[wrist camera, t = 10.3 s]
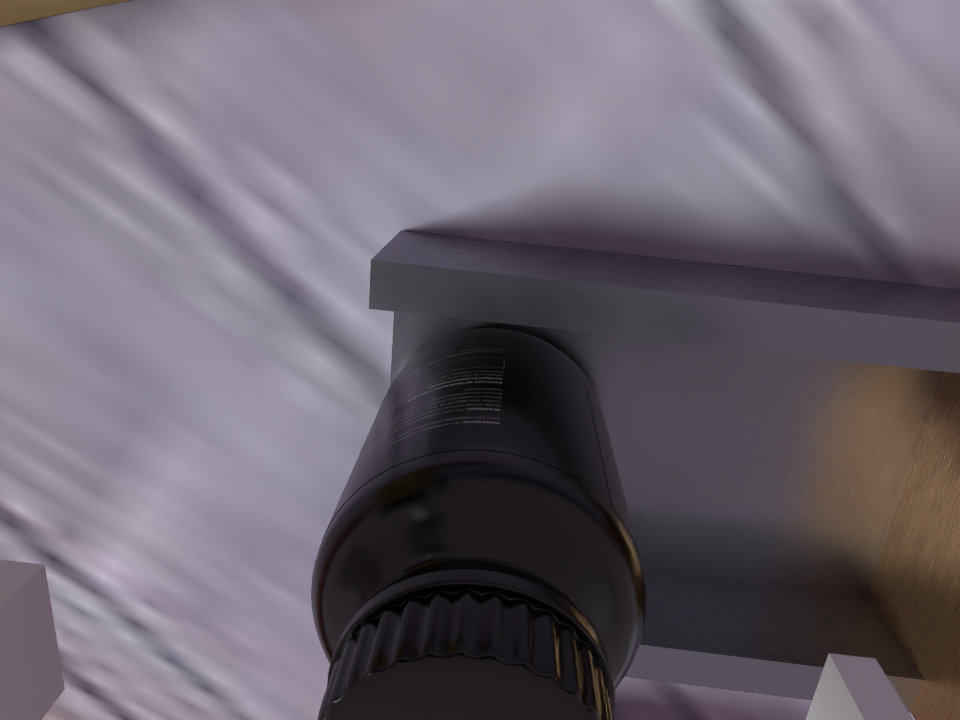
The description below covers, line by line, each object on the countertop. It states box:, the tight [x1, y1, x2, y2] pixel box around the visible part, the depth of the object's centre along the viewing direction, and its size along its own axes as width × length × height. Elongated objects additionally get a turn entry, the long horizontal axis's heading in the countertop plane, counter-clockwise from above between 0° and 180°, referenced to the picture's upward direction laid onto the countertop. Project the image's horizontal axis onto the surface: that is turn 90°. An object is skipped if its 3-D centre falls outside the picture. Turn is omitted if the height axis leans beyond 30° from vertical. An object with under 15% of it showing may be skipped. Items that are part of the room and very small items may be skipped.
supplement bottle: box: [311, 328, 647, 720], centre depth 16 cm, size 7×7×12 cm
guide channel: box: [369, 231, 960, 720], centre depth 19 cm, size 17×11×6 cm, turn 85°
